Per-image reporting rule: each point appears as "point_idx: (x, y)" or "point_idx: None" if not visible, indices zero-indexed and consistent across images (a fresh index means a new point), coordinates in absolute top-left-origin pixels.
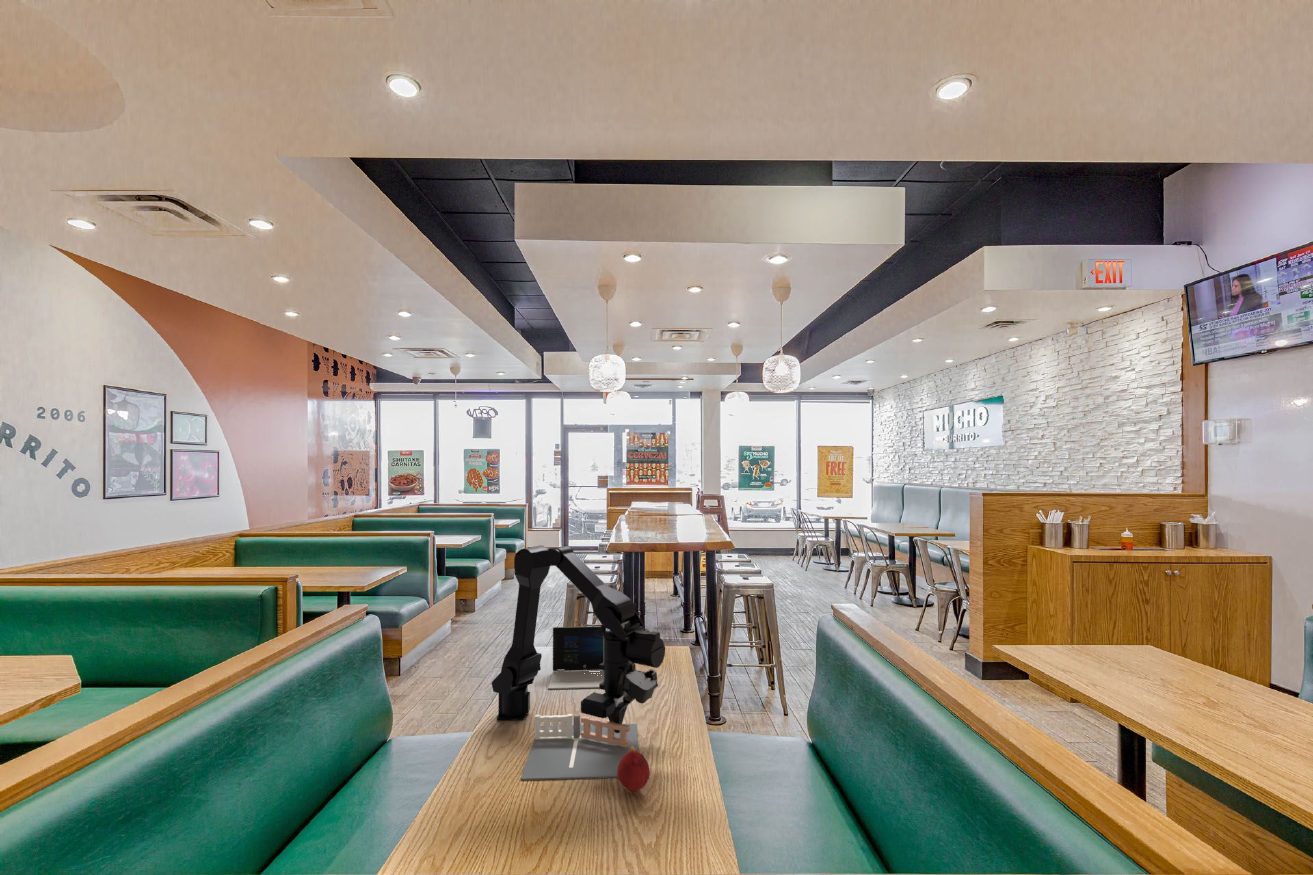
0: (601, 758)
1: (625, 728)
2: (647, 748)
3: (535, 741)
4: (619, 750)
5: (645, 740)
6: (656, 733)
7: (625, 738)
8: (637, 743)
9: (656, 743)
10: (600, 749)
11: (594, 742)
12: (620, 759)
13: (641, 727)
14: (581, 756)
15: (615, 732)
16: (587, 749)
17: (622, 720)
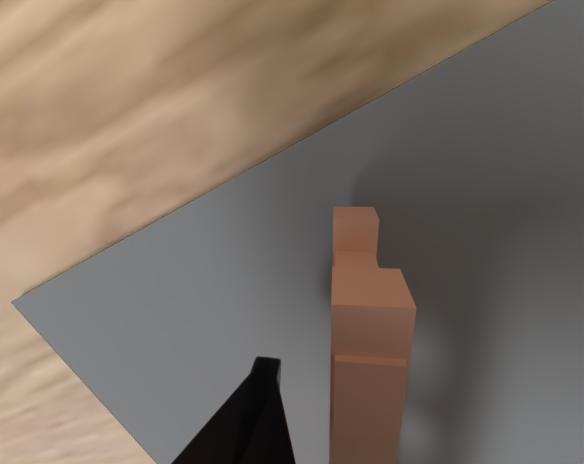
0: (571, 322)
1: (401, 333)
2: (252, 64)
3: None
4: (400, 256)
5: (147, 150)
6: (9, 121)
7: (364, 263)
8: (239, 176)
9: (135, 31)
10: (432, 372)
11: None
12: (559, 182)
13: (22, 260)
14: (566, 435)
15: (279, 380)
16: (458, 433)
17: (209, 441)
